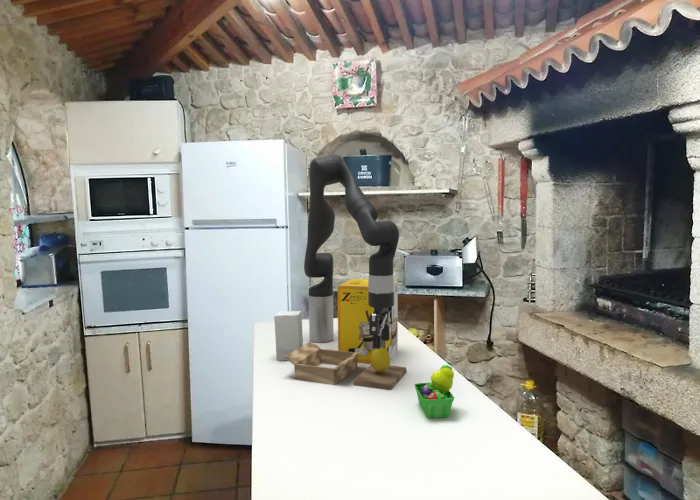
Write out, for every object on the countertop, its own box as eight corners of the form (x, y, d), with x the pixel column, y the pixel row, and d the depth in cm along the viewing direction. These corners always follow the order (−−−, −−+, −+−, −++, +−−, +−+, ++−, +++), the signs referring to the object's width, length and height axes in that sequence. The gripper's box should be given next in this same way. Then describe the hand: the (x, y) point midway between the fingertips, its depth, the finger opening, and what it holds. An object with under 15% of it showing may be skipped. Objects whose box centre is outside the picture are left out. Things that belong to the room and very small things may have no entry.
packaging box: (386, 365, 158) (385, 287, 156) (338, 360, 164) (337, 285, 162) (397, 351, 174) (397, 280, 172) (353, 347, 179) (353, 278, 177)
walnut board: (372, 368, 156) (372, 363, 155) (406, 372, 151) (406, 367, 151) (353, 385, 141) (353, 379, 141) (390, 390, 137) (390, 384, 137)
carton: (310, 361, 163) (310, 341, 163) (367, 367, 156) (366, 346, 155) (284, 377, 147) (284, 355, 147) (346, 386, 140) (345, 363, 139)
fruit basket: (413, 402, 128) (413, 359, 127) (446, 400, 129) (447, 358, 128) (423, 421, 117) (423, 374, 116) (460, 419, 118) (460, 372, 117)
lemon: (392, 371, 148) (392, 344, 147) (387, 377, 143) (387, 350, 142) (374, 369, 150) (374, 343, 149) (368, 375, 144) (368, 348, 144)
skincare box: (303, 355, 170) (303, 310, 168) (299, 361, 163) (299, 314, 162) (279, 355, 170) (278, 310, 169) (275, 361, 164) (273, 314, 162)
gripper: (376, 285, 152) (376, 337, 153) (360, 293, 139) (360, 349, 140) (400, 286, 149) (400, 339, 151) (386, 295, 136) (386, 352, 138)
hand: (381, 344), depth 146 cm, fingers open, 8 cm apart
